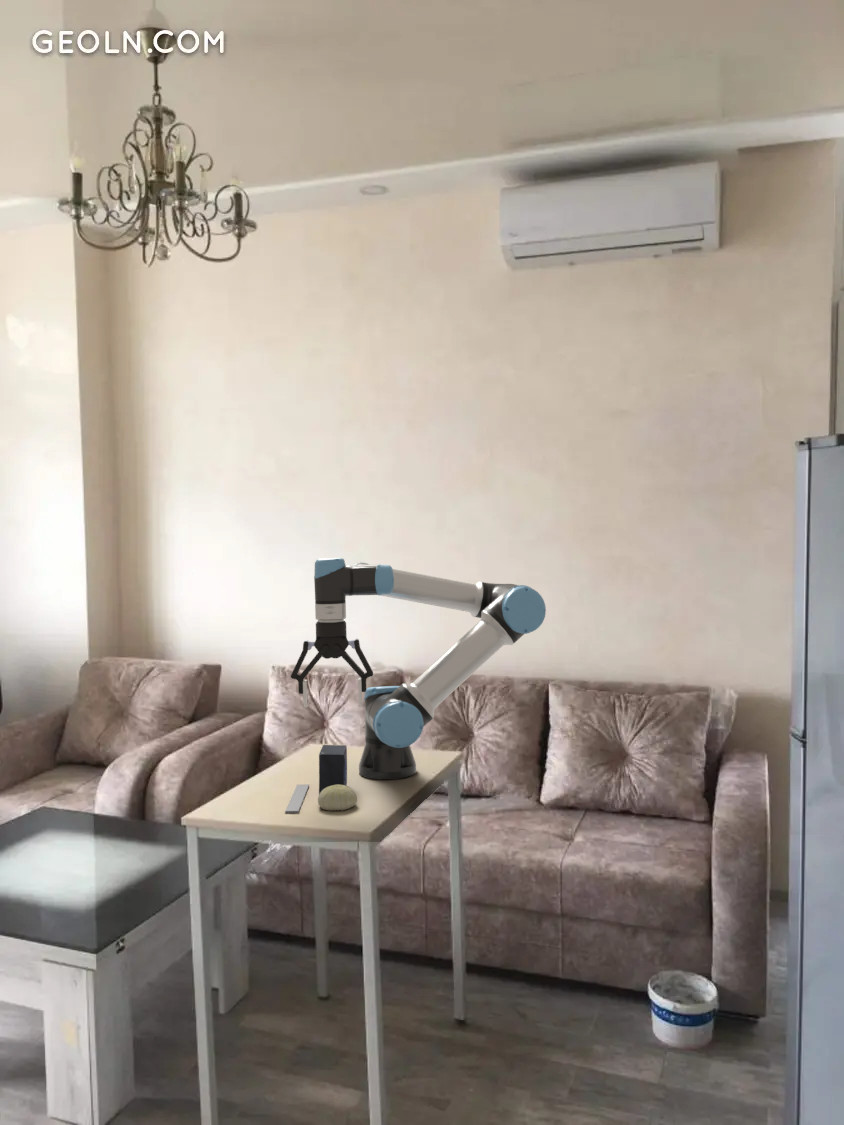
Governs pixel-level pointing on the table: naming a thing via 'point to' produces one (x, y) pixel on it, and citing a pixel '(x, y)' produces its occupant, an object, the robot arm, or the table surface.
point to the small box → (332, 766)
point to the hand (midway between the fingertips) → (333, 706)
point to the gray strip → (297, 799)
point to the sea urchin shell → (337, 798)
